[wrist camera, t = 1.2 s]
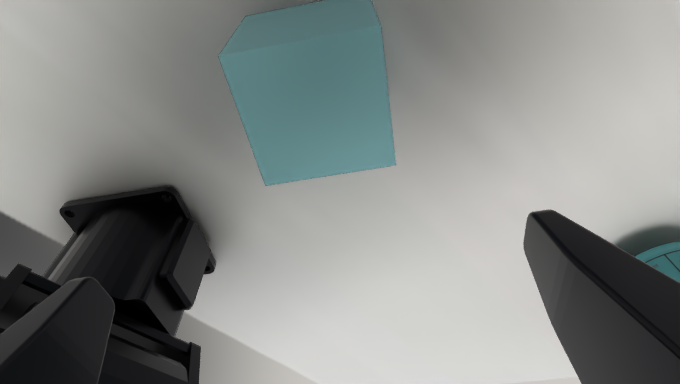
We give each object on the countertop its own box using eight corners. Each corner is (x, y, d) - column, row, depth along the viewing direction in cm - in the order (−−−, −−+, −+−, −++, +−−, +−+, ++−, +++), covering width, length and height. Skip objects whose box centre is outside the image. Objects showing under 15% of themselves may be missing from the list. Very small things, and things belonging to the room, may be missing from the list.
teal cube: (278, 124, 19) (265, 185, 15) (245, 15, 16) (218, 56, 12) (381, 106, 19) (395, 165, 15) (367, -9, 16) (380, 25, 12)
